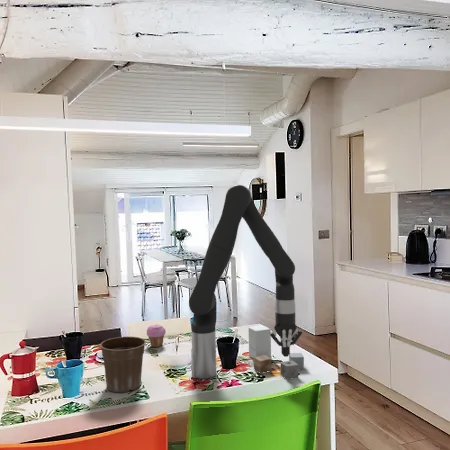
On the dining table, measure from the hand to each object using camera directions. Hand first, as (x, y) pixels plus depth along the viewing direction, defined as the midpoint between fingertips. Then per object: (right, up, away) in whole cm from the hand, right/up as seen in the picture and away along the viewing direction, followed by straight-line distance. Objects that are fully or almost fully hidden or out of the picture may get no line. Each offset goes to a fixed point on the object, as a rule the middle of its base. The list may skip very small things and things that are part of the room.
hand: (285, 355), depth 166 cm
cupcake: (-55, -7, +41) cm, 69 cm away
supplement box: (-8, -7, +22) cm, 25 cm away
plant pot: (-60, -10, -6) cm, 61 cm away
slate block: (+6, -7, +9) cm, 13 cm away
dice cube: (+1, -8, 0) cm, 8 cm away
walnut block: (-8, -8, +7) cm, 13 cm away
